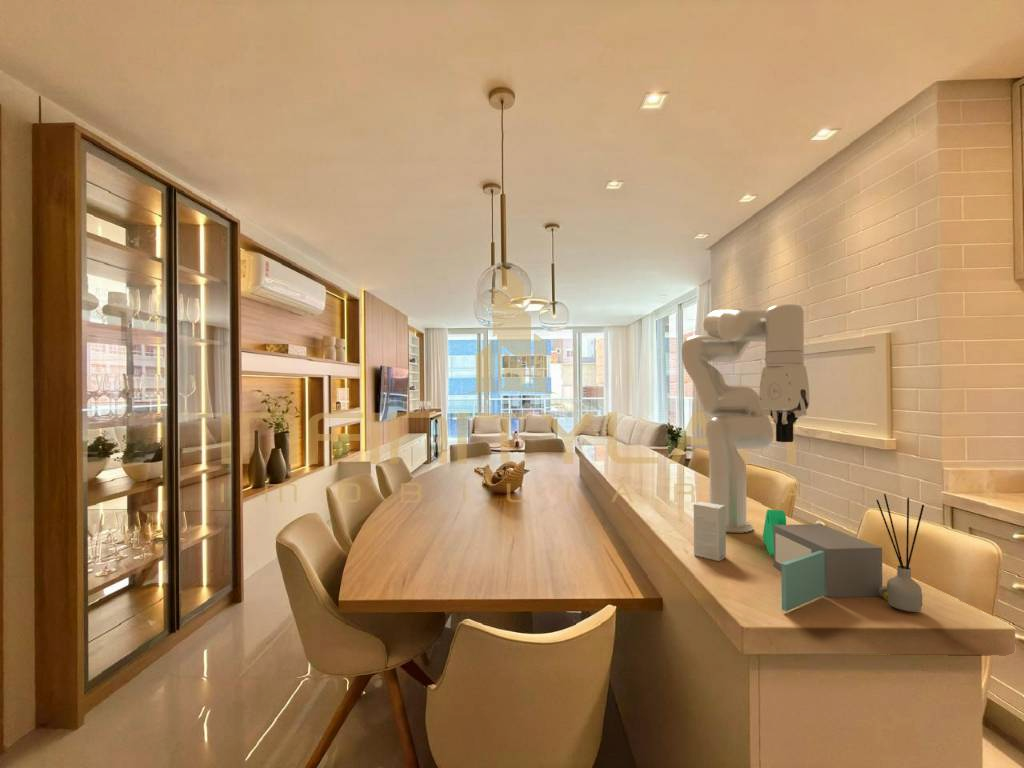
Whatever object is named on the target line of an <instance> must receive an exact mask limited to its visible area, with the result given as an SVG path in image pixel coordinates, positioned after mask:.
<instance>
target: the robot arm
mask: <svg viewBox="0 0 1024 768" xmlns="http://www.w3.org/2000/svg"><path fill="white" fill-rule="evenodd" d="M804 315H805V314H804V309H803V307H802V306H801V305H799V304H791V303H790V304H778V305H773V306H771V307H769V308H767V309H763V310H762V309H749V310H748V309H743V308H733V309H732V308H730V309H717V310H713V311H711V312H710V313H708V314H707V315H706V316H705V318H704V319H703V326H702V327H703V330H704V332H705V333H706V334H700V335H699V334H698V335H693V336H689V337H688V338H686V339H685V340H684V341H683V343H682V344H681V345H682V347H681V360H682V364H683V367H684V369H685V371H686V373H687V374H688V376H689V378H691V381H692V382H693V384H694V386H695V390H696V392H697V395H698V399H699V401H700V404H701V406H702V409H703V411H704V413H705V414H706V416H708V417H711V418H710V419H709V420H708V421H707V422H706V425H705V436H706V441H707V447H708V456H709V457H708V460H709V465H708V466H709V469H708V470H709V503H712V504H718V505H725V520H726V533H732V534H733V533H736V534H742V533H743V534H744V532H745V533H750V532H752V531H753V527H754V526H753V524H752V523H750V522H749V521H747V465H746V462H745V460H744V458H743V457H742V456H741V454H740V453H739V452H738V450H744V449H745V450H760V449H761V450H762V449H766V448H768V447H770V445H771V444H772V443H773V441H774V436H775V441H776V442H779V443H793V442H794V425H795V424H796V423H797V420H799V418H802V417H806V416H807V414H808V412H807V410H808V408H809V406H810V385H809V378H808V372H807V367H806V365H804V364H805V361H804V360H805V352H804V348H805V345H804V341H805V339H804V338H805V337H804V329H805V328H804V327H805V326H804V319H805V317H804ZM751 342H765V357H764V362H765V366H763V368H762V371H761V376H760V383H759V392H758V393H757V391H756V390H755V389H754V388H752V387H749V386H731V385H728V383H726V381H725V379H724V376H723V373H721V372H720V371H719V370H718V369H717V368H716V367H715V366H713V365H712V364H711V363H733V362H736V361H738V360H739V359H740V358H741V357H742V355H743V354H744V353H745V351H746V349H747V348H748V346H749V344H750V343H751ZM769 416H770V417H771V418H772V421H773V424H775V432H774V428H773V425H772V423H771V420H770V418H769ZM774 433H775V435H774ZM749 531H750V532H749Z"/></svg>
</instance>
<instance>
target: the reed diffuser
mask: <svg viewBox="0 0 1024 768" xmlns="http://www.w3.org/2000/svg"><path fill="white" fill-rule="evenodd" d="M883 496H884V500H885V504H886V509H887V512H888V517H889V521H890V526H891V529H892V533H893V537H894V539H893V537H892V534H891V531H890V529H889V526H888V523H887V520H886V518H885V516H884V512H883V510H882V506H881V504H880V502H879V499H876V503H877V505H878V508H879V512H880V514H881V516H882V519H883V522H884V524H885V528H886V531H887V533H888V535H889V539H890V541H891V544H892V547H893V550H894V552H895V555H896V557H897V560H898V562H899V563H898V564H899V565H897V566H896V569H897V570H896V576H893V577H891V578H890V579H888V580H887V583H886V586H883V585H882V587H880V588H879V593H880V595H881V596H880V597H882V598H883V599H884V600H886V601H887V604H888V605H890V606H891V607H892V608H895V609H897V610H900V611H906V612H912V613H913V612H914V613H916V612H918V613H919V612H921V611H922V607H923V591H922V587H921V585H919V583H918V582H916V581H915V580H913V578H912V568H911V567H910V563H911V561H912V555H913V550H914V548H915V547H914V546H915V543H916V541H917V540H916V539H917V535H918V532H919V527H920V524H921V520H922V516H923V512H924V509H925V504H921V509H920V511H919V516H918V519H917V520H918V521H917V523H916V524H917V525H916V528H915V531H914V537H913V539H912V540H913V541H912V545H911V548H910V552H909V531H910V529H909V528H910V527H909V526H910V498H909V497H906V503H907V504H906V554H905V555H906V561H905V564H906V565H904V564H903V559H902V555H901V551H900V547H899V543H898V539H897V535H896V531H895V527H894V523H893V519H892V516H891V514H892V513H891V511H890V506H889V501H888V499H887V495H886V493H883Z"/></svg>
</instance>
